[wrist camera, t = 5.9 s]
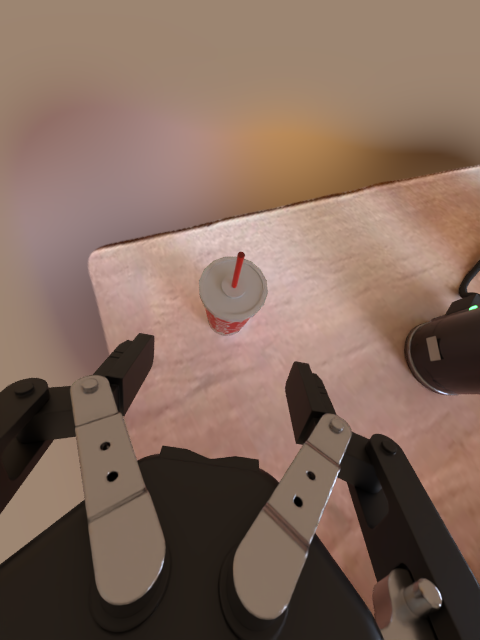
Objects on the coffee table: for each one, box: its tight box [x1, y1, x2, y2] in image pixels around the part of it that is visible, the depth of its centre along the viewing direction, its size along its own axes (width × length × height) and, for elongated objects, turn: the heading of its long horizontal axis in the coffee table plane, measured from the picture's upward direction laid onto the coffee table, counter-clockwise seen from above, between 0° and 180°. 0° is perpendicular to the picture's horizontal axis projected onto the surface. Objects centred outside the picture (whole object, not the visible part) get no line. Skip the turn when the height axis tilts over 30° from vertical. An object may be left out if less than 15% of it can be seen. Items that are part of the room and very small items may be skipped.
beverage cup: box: [199, 252, 268, 335], centre depth 23 cm, size 6×6×14 cm
